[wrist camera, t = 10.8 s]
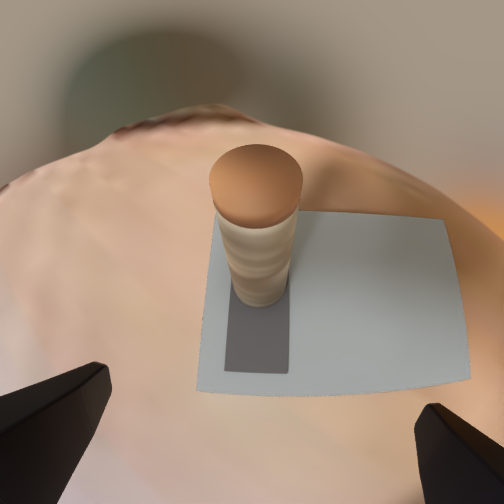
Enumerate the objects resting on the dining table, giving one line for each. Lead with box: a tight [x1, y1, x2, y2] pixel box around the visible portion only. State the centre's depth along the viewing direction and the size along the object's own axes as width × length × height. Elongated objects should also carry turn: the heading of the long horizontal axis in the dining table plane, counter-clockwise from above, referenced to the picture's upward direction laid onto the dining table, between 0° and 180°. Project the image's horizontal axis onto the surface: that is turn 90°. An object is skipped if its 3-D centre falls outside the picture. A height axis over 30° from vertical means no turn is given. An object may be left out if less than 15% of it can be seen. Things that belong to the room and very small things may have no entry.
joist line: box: [224, 270, 289, 374], centre depth 22 cm, size 12×4×1 cm, turn 177°
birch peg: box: [209, 144, 303, 308], centre depth 17 cm, size 4×4×11 cm
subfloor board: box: [196, 210, 471, 396], centre depth 22 cm, size 20×14×2 cm
